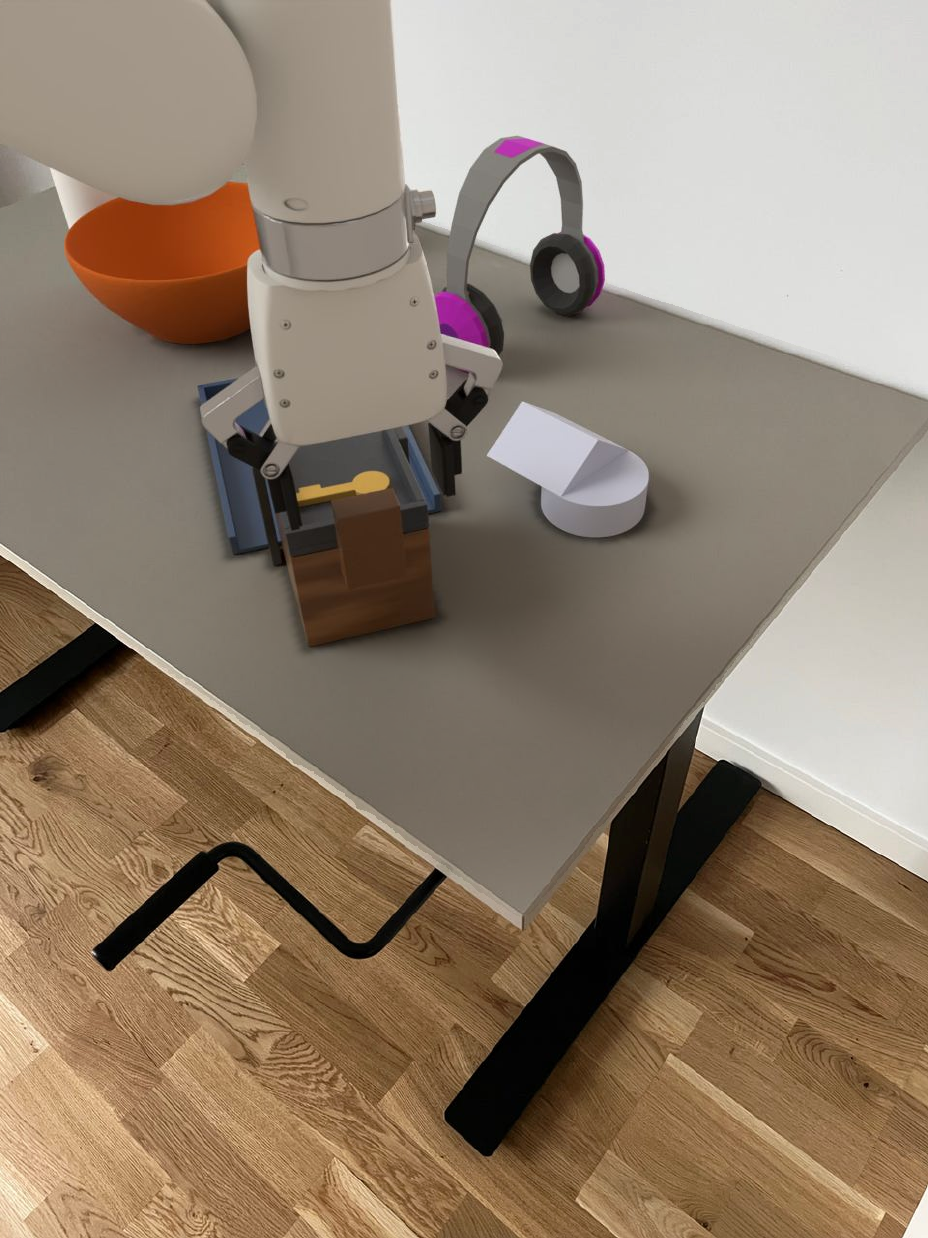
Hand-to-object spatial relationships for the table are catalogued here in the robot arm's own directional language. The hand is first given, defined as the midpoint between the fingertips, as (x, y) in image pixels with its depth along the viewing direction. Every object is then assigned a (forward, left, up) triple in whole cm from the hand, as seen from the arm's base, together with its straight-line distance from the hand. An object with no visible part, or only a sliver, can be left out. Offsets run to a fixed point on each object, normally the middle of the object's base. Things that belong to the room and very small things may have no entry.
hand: (369, 499), depth 61 cm
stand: (-2, +10, -16) cm, 19 cm away
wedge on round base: (+18, +18, -16) cm, 31 cm away
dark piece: (-1, +8, -7) cm, 10 cm away
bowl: (-16, +58, -16) cm, 63 cm away
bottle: (-28, +75, -16) cm, 82 cm away
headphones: (+18, +46, -16) cm, 52 cm away
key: (-2, +9, -7) cm, 12 cm away
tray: (-5, +29, -16) cm, 33 cm away
